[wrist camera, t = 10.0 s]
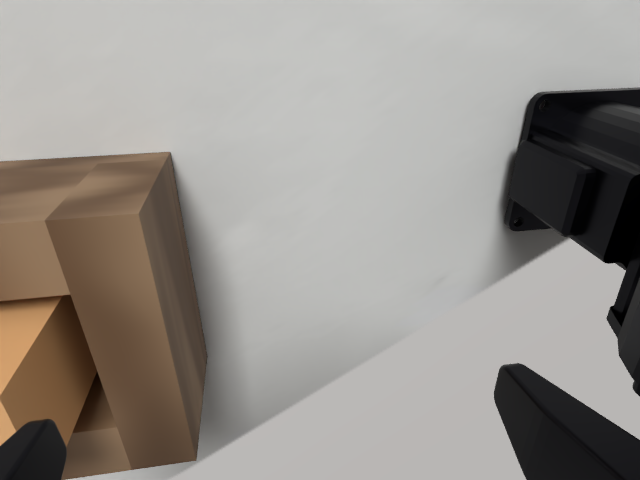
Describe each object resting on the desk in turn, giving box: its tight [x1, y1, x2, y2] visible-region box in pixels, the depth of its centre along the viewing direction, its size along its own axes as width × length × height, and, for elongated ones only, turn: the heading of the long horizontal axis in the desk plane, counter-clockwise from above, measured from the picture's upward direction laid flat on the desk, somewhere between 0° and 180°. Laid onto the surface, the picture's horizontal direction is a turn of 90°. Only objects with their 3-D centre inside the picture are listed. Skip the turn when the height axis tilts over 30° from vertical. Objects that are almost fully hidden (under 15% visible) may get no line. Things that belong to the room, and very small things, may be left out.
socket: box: [0, 152, 207, 480], centre depth 17 cm, size 11×11×6 cm
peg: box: [0, 295, 97, 447], centre depth 15 cm, size 4×4×8 cm
